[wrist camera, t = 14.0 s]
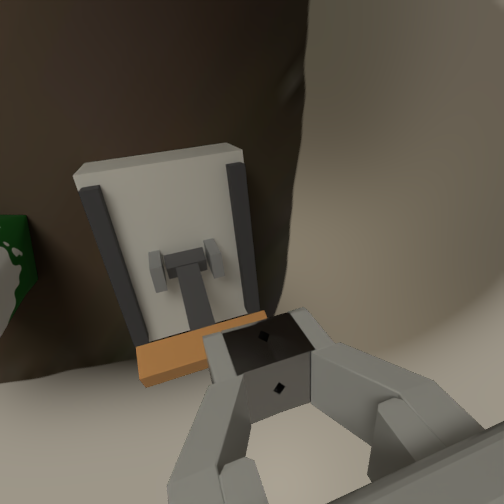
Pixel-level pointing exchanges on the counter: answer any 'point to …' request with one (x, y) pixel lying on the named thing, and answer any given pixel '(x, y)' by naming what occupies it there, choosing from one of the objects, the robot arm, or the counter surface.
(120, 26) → the counter surface
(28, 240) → the milk carton
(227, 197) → the box
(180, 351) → the lever
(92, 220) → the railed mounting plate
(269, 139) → the counter surface
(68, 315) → the counter surface
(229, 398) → the robot arm
